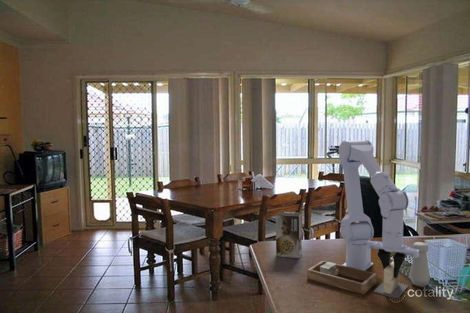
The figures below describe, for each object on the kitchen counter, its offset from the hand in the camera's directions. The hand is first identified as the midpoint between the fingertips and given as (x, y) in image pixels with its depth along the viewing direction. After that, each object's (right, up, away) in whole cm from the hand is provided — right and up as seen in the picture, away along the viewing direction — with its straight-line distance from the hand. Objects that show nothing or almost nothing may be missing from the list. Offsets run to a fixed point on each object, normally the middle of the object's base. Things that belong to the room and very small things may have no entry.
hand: (391, 275), depth 118 cm
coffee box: (-26, -2, +32) cm, 41 cm away
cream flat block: (0, -4, 0) cm, 4 cm away
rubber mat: (0, -4, 0) cm, 4 cm away
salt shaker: (+10, -4, +4) cm, 12 cm away
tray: (-13, -4, +7) cm, 15 cm away
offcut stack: (-16, -4, +11) cm, 20 cm away
